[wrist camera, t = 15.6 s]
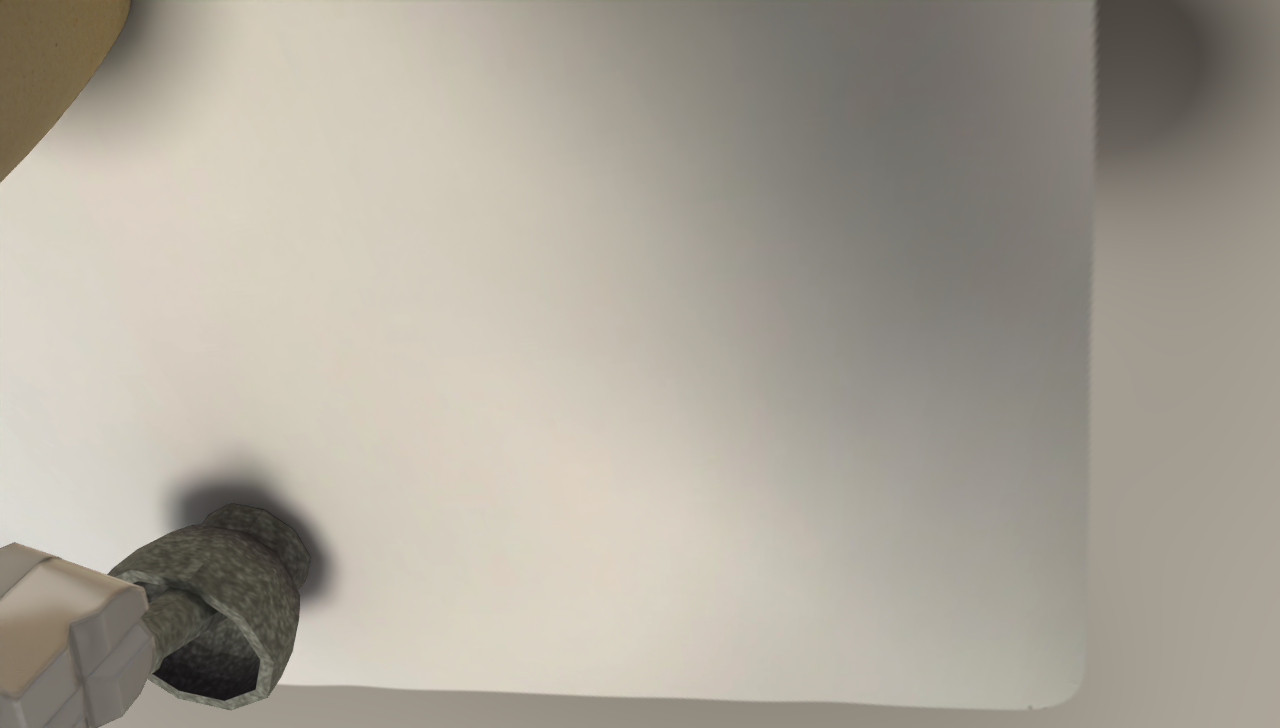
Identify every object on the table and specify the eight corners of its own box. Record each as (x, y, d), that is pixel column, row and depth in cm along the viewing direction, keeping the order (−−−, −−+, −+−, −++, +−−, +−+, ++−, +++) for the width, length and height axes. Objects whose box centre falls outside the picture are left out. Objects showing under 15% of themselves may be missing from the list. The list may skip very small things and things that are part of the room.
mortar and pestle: (324, 633, 57) (203, 823, 48) (175, 570, 57) (23, 746, 48) (354, 504, 51) (221, 693, 41) (185, 432, 51) (12, 605, 41)
